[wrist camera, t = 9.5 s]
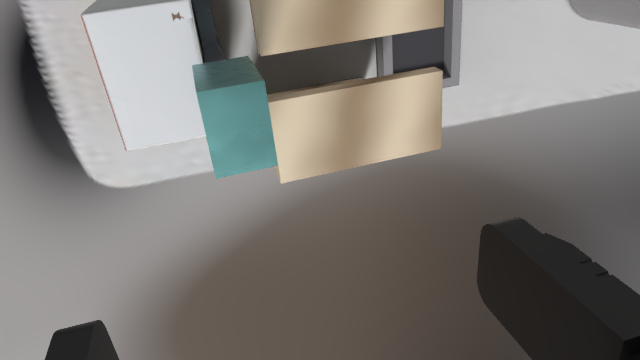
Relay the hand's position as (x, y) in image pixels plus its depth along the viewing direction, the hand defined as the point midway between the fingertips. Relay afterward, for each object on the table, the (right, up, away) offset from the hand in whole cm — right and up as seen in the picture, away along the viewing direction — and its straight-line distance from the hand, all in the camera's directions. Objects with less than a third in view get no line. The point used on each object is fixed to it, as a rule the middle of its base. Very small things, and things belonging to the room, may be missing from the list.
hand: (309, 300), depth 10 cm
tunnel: (-2, +15, +27) cm, 31 cm away
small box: (-12, +13, +25) cm, 31 cm away
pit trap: (+8, +15, +30) cm, 34 cm away
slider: (-8, +13, +26) cm, 30 cm away
